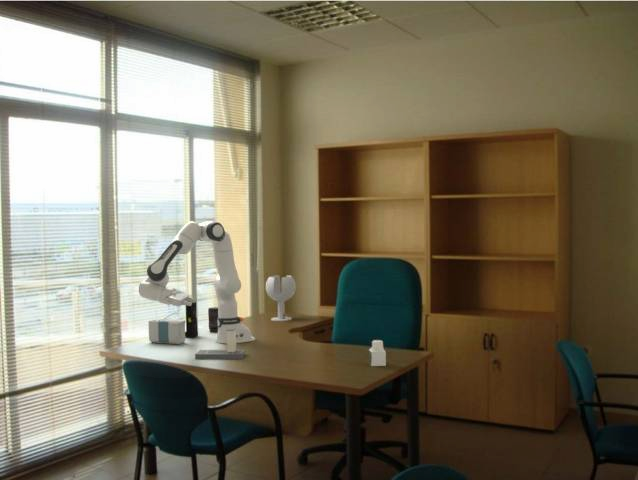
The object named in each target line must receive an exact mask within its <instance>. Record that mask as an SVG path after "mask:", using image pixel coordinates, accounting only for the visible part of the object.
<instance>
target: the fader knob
mask: <svg viewBox="0 0 638 480" xmlns="http://www.w3.org/2000/svg"><path fill="white" fill-rule="evenodd" d="M226 344H227V345H226V346H227V349H226V350H227V352H235V351H236V350H237V343H236V328H228V329H227V343H226Z"/></svg>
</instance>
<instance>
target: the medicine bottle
mask: <svg viewBox="0 0 638 480" xmlns="http://www.w3.org/2000/svg"><path fill="white" fill-rule="evenodd" d="M368 363H369V364H370V366H371V367H386V366H387V352H386V350H385V349H384V340H382V339H376V338H375V339H372V340H370V348H369V349H368Z"/></svg>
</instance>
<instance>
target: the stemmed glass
mask: <svg viewBox="0 0 638 480" xmlns="http://www.w3.org/2000/svg"><path fill="white" fill-rule="evenodd" d="M296 287H297V283H296V281H295V279H294V277H293V276H292V275H290V274H289V275H286V276H284V277H281V278H280V275H277V274H276V275H270V276H269V277H268V278H267V280H266V282H265V291H266V294H267V296H268V297H269V298H270V299H271V300H273V301H275V302H277V317H271V319H270V321H272V322H287V321H288V322H289V321H292V319H293V317H290V316H286V310H285V309H286V306H285V303H286V302H287V301H289V300H290V299H291V298H292V297H293V296H294V294H295V293H296V289H297V288H296Z"/></svg>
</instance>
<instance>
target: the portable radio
mask: <svg viewBox="0 0 638 480" xmlns="http://www.w3.org/2000/svg"><path fill="white" fill-rule="evenodd" d="M187 302H190V301H187ZM184 306H185V339H186V338H188V339H189V338H190V339H191V338H192V339H193V338H196V337H197V336H199V330H198V318H197V301H196V302H195V303H192V305H191V306H188V305H184Z"/></svg>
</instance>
